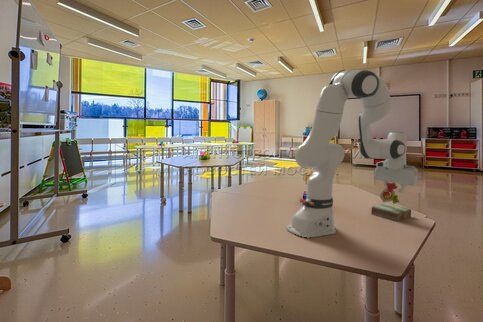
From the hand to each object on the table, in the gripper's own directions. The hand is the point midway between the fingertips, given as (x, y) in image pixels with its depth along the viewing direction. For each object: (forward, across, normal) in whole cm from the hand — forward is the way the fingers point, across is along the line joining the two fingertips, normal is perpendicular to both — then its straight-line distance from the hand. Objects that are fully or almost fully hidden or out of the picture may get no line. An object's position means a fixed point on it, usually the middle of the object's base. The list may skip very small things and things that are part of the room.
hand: (394, 191), depth 128 cm
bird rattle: (+6, +2, +1) cm, 7 cm away
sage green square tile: (+13, +1, 0) cm, 13 cm away
